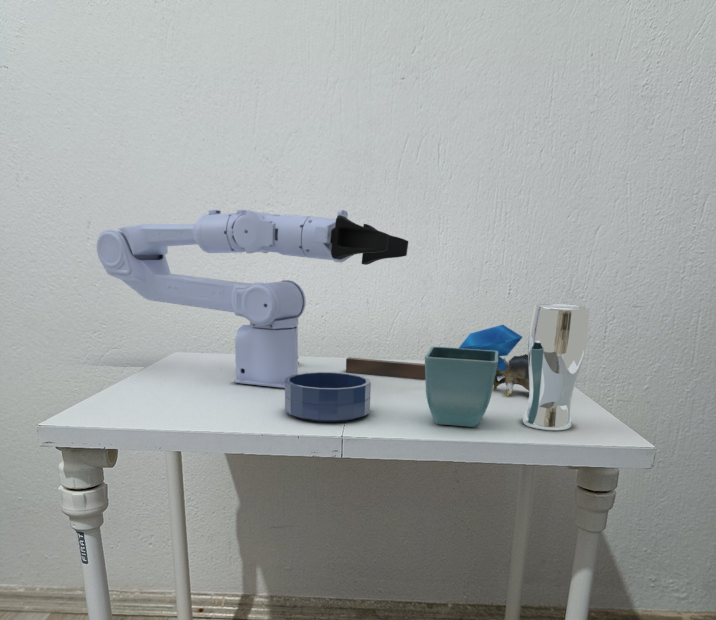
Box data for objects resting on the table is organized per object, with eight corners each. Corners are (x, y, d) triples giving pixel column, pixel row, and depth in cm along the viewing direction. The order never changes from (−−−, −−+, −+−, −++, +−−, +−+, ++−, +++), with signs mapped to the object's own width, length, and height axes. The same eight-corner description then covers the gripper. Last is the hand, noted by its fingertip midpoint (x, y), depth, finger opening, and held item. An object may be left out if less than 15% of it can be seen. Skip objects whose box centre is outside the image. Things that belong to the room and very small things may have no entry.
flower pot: (491, 433, 81) (498, 360, 78) (419, 428, 83) (424, 356, 80) (491, 416, 89) (498, 350, 86) (426, 411, 91) (431, 346, 88)
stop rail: (345, 372, 117) (346, 358, 116) (348, 370, 118) (349, 357, 117) (434, 380, 112) (435, 366, 111) (436, 379, 113) (437, 365, 112)
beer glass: (512, 417, 89) (525, 303, 84) (562, 417, 90) (577, 304, 85) (529, 431, 83) (544, 308, 78) (582, 431, 84) (601, 309, 78)
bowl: (270, 418, 85) (270, 383, 84) (305, 400, 95) (305, 369, 94) (352, 428, 82) (353, 392, 80) (379, 408, 92) (381, 376, 90)
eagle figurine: (477, 387, 102) (533, 385, 96) (485, 345, 103) (541, 341, 98) (496, 407, 107) (550, 406, 102) (504, 367, 109) (557, 364, 104)
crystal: (452, 330, 121) (519, 318, 118) (459, 377, 124) (525, 366, 121) (450, 336, 114) (521, 323, 111) (458, 385, 117) (527, 373, 114)
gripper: (288, 199, 89) (381, 206, 84) (335, 215, 102) (418, 221, 97) (284, 254, 91) (375, 264, 86) (330, 263, 104) (411, 271, 99)
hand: (397, 245), depth 92 cm, fingers open, 7 cm apart
